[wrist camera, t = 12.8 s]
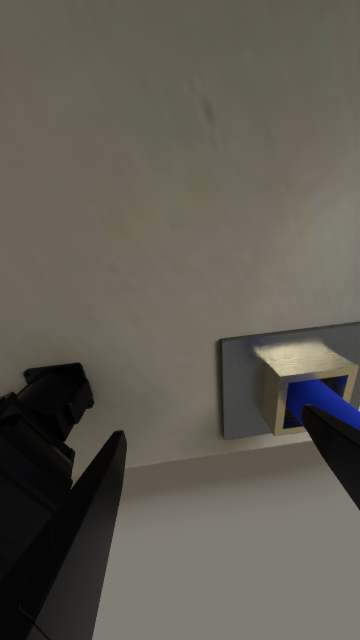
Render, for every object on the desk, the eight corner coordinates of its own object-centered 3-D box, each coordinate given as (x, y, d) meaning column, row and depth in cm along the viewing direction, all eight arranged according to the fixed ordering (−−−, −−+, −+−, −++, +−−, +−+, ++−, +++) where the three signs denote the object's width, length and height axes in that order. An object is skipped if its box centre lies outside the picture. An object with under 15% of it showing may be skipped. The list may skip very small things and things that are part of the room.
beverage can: (300, 405, 26) (470, 589, 11) (269, 397, 25) (413, 586, 10) (321, 375, 24) (545, 543, 10) (289, 365, 23) (486, 534, 9)
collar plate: (222, 434, 27) (231, 461, 24) (220, 338, 22) (230, 354, 18) (349, 416, 28) (376, 440, 25) (376, 319, 23) (416, 331, 19)
